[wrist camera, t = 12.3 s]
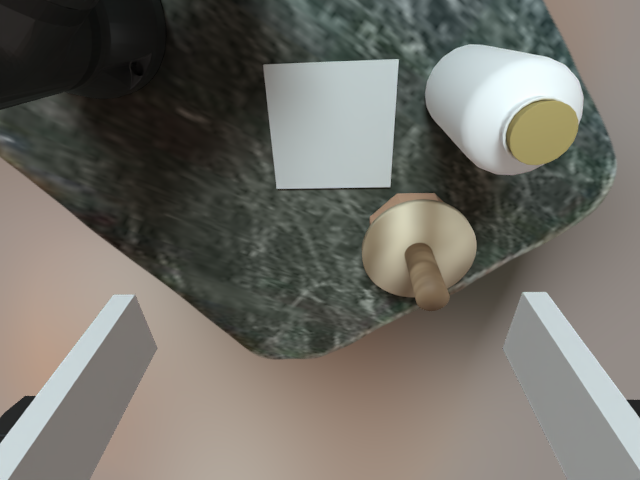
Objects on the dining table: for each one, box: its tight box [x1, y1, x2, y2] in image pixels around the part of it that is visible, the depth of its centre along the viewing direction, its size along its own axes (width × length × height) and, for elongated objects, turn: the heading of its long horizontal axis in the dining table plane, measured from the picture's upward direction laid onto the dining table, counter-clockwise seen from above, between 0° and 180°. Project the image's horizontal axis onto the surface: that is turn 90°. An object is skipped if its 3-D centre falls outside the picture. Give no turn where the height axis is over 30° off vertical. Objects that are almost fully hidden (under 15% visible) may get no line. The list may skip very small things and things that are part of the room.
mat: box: [263, 59, 399, 189], centre depth 41 cm, size 14×14×1 cm
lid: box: [362, 199, 477, 311], centre depth 39 cm, size 13×13×9 cm
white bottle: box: [425, 44, 584, 175], centre depth 31 cm, size 8×8×18 cm
